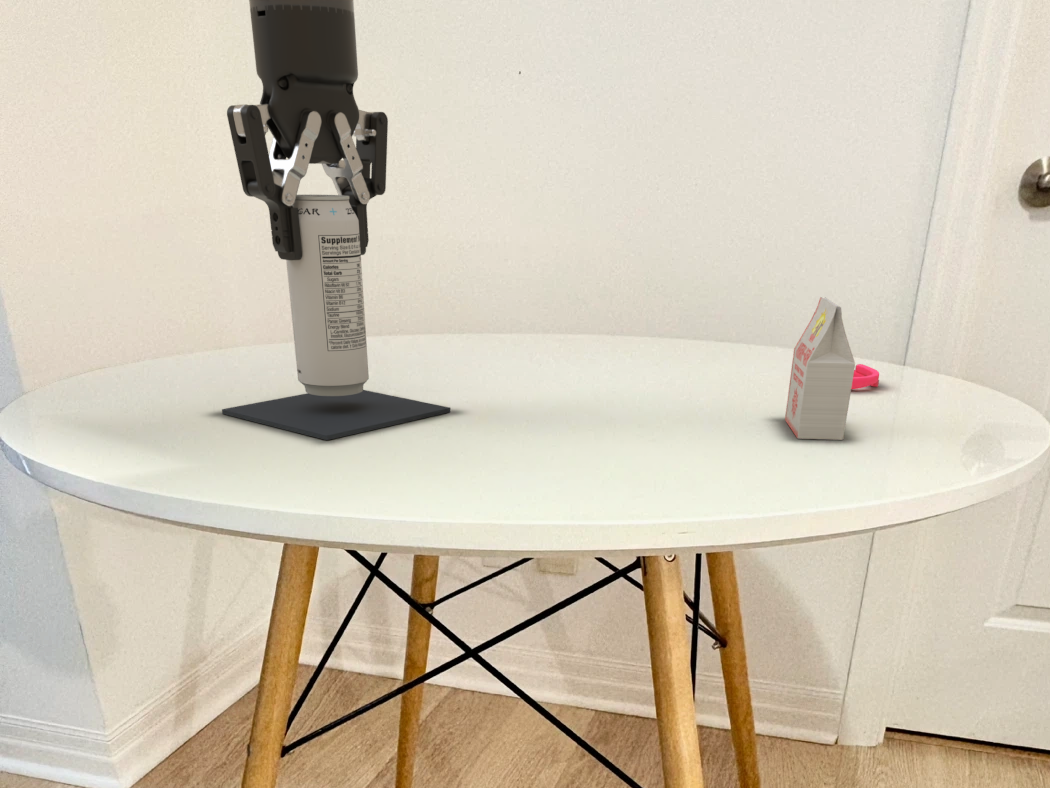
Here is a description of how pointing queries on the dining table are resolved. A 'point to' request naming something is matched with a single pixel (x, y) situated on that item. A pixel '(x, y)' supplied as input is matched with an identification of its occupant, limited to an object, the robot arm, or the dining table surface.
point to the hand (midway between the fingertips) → (323, 256)
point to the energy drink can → (328, 298)
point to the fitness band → (865, 377)
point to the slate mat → (335, 413)
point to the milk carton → (821, 377)
